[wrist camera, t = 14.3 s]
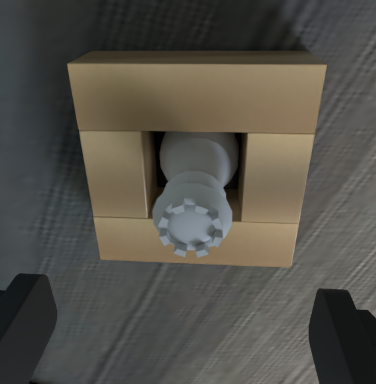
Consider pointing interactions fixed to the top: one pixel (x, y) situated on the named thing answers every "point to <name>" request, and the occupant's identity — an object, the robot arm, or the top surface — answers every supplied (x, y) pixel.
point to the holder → (198, 122)
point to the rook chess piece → (195, 189)
